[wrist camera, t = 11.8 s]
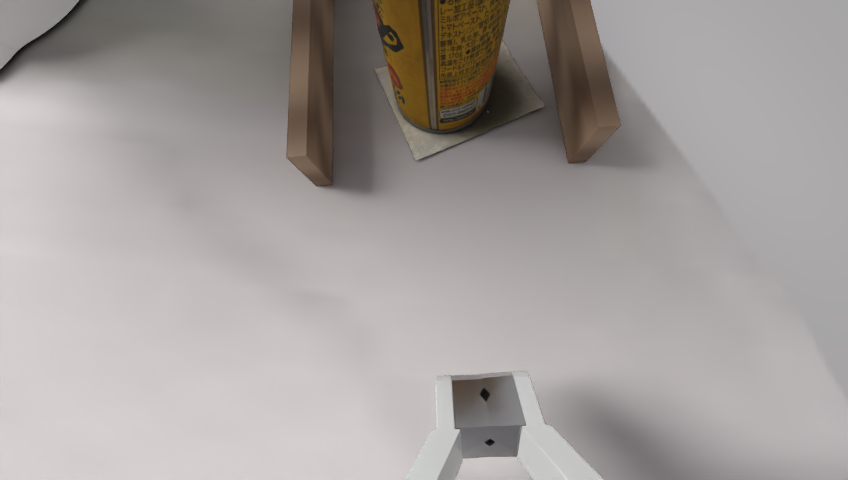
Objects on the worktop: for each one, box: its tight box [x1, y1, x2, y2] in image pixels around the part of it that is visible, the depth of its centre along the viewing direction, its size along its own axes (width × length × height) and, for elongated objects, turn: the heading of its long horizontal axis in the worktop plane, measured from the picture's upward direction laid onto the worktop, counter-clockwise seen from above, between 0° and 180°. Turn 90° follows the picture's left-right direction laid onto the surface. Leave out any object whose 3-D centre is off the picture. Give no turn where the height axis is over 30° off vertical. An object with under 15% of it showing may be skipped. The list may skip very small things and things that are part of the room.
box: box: [286, 0, 620, 186], centre depth 18 cm, size 17×16×4 cm
